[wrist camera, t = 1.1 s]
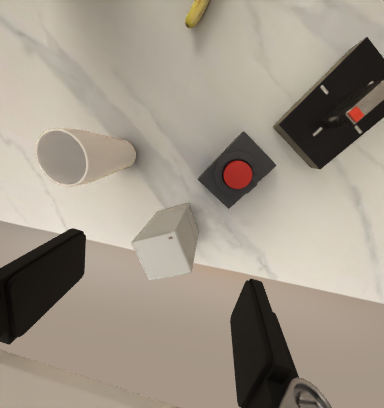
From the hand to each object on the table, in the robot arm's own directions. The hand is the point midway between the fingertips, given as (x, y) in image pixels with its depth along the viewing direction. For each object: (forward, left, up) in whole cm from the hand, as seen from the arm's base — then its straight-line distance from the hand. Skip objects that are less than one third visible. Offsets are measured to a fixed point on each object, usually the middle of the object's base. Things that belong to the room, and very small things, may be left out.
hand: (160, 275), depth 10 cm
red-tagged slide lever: (-10, +22, -23) cm, 33 cm away
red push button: (-2, +7, -22) cm, 24 cm away
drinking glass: (-7, -14, -26) cm, 31 cm away
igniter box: (-2, +7, -26) cm, 27 cm away
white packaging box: (+8, -5, -26) cm, 28 cm away
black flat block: (-10, +22, -26) cm, 35 cm away
